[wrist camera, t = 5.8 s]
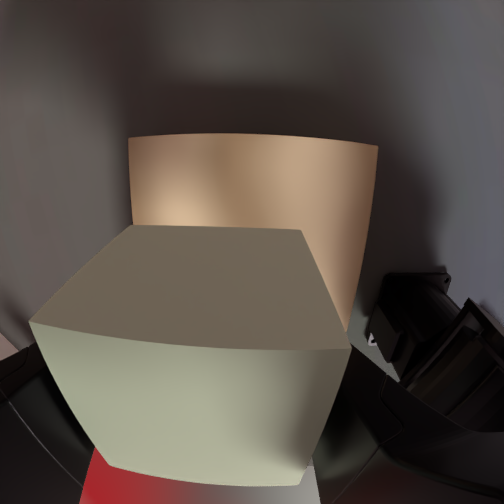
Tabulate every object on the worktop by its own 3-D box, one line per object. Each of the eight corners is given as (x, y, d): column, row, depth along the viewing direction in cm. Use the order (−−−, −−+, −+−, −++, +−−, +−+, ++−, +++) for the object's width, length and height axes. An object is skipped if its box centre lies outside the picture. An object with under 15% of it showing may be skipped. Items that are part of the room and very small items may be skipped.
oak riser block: (351, 141, 16) (378, 146, 13) (329, 310, 21) (342, 345, 17) (153, 135, 16) (128, 137, 12) (165, 306, 21) (151, 341, 17)
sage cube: (300, 229, 8) (351, 348, 4) (284, 361, 10) (298, 484, 6) (130, 225, 8) (28, 321, 4) (150, 353, 10) (109, 465, 6)
